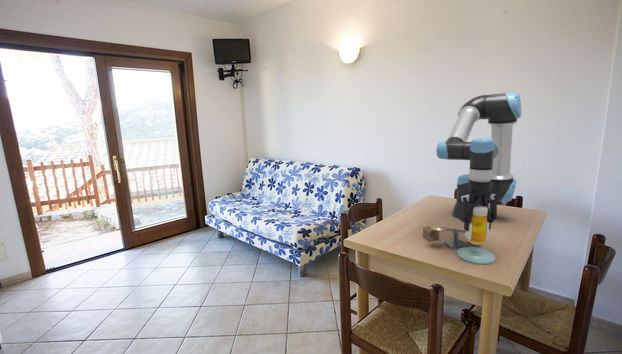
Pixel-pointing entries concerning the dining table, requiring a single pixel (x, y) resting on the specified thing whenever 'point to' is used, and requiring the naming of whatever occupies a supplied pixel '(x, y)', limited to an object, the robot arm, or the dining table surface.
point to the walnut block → (430, 234)
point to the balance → (456, 243)
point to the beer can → (479, 225)
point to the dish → (476, 255)
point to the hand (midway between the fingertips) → (476, 237)
